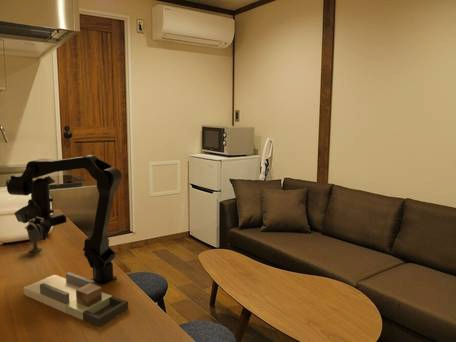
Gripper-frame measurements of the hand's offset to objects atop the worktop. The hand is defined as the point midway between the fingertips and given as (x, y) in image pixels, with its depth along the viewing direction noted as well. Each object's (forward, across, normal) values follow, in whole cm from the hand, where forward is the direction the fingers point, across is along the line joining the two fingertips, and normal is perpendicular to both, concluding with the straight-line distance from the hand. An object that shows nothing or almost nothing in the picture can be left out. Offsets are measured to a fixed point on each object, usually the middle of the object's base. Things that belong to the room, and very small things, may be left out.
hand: (43, 239), depth 135 cm
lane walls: (+11, +21, -7) cm, 24 cm away
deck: (+13, +20, -7) cm, 25 cm away
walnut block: (+10, +31, -7) cm, 34 cm away
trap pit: (+13, +38, -7) cm, 40 cm away
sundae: (+13, -24, +12) cm, 30 cm away
